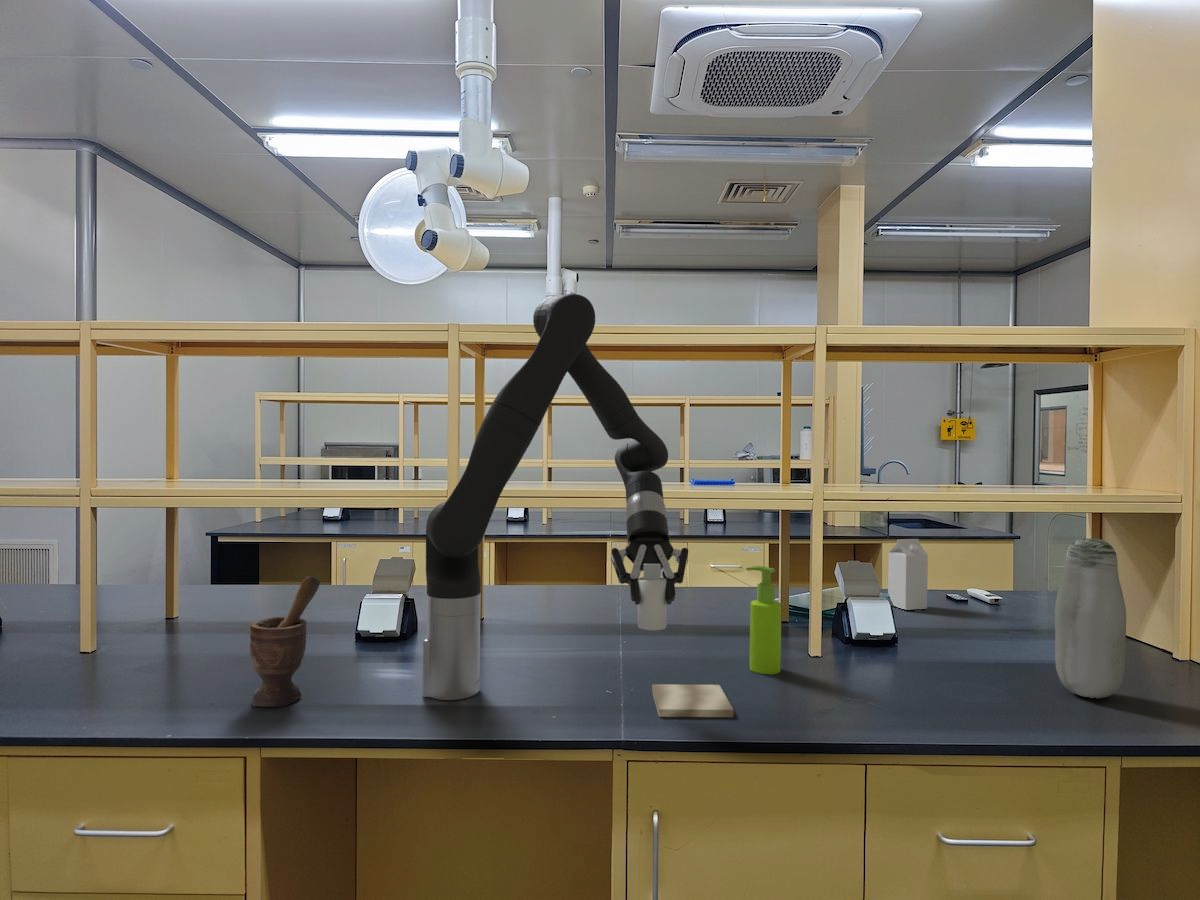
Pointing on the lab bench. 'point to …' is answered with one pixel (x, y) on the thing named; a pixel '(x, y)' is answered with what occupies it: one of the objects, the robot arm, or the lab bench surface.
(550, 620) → the lab bench surface
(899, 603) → the milk carton
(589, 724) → the lab bench surface
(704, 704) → the board
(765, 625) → the soap dispenser
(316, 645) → the lab bench surface
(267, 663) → the mortar and pestle
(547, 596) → the lab bench surface
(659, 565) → the white bottle
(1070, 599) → the grey bottle
